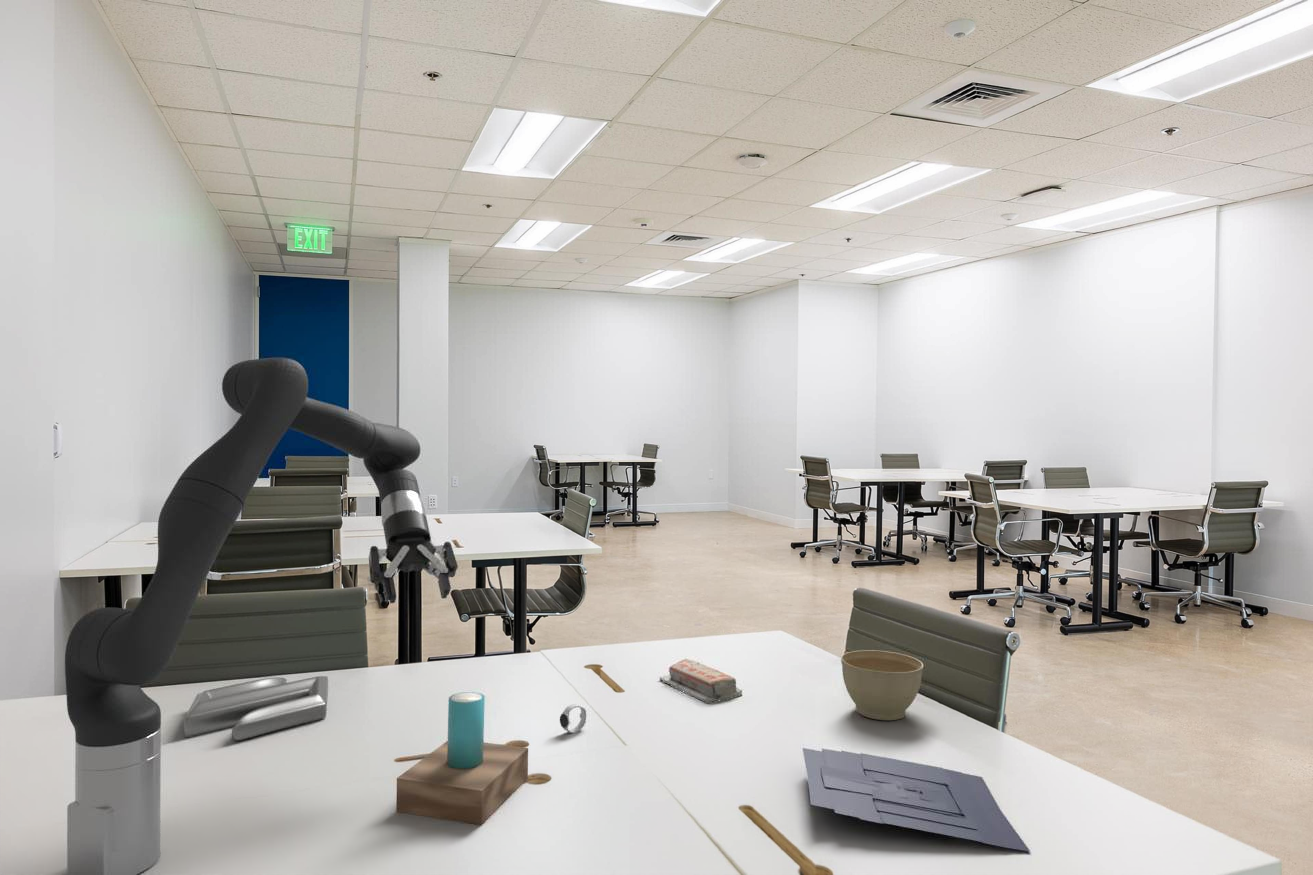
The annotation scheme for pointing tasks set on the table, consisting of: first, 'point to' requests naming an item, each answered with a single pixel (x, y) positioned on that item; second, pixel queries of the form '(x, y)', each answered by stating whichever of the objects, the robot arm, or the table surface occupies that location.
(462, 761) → the tumbler
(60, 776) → the table surface
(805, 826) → the table surface
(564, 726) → the wristwatch
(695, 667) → the packaged product
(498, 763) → the wooden square base
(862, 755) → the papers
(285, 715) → the emblem
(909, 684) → the planter bowl
